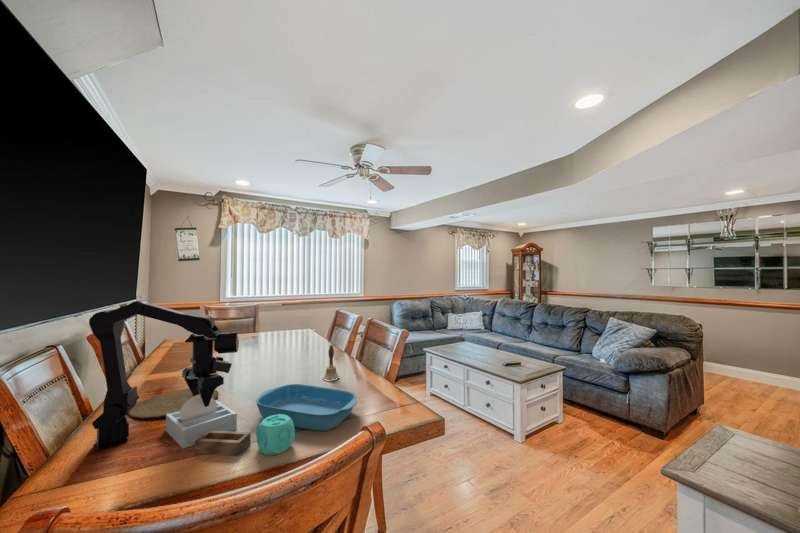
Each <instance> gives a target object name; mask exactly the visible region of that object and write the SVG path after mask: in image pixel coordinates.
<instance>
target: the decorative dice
mask: <svg viewBox="0 0 800 533" xmlns="http://www.w3.org/2000/svg"><path fill="white" fill-rule="evenodd" d="M295 428H296V427H295V426H294V424H293V421H292V419H291V418H290V417H289V416H287V415H283V414H278V415H272V416H269V417H267V418H263V419H262V420H261V422H259V424H258V426H257V428H256V433H255V438H256V443H257V447H258V449H259V451H260V452H261V453H262V454H264V455H266V456H273V455H279V454H282V453H284V452H285V451H286V452H287V450H288V449H289V448H290V447H291V446H292V445H293V442H294V440H295V437H296V429H295Z"/></svg>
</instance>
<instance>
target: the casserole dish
mask: <svg viewBox="0 0 800 533" xmlns="http://www.w3.org/2000/svg"><path fill="white" fill-rule="evenodd" d="M255 402H256V405H257V408H258V411H259V414H260V415H261V417H262V418H263V419H265V418H267V417H269V416H272V415H278V414H283V415H287V416H289V417H290V418H291V419H292V421H293V424H294V427H295V428H301V429H306V430H312V431H320V432H324V431H325V432H326V431H330V430H333V429H334V428H336V427H337V426H338V425H340V424H341V423H342V422H343V421H344V420H345V419H346V418H348V416H349V415H350V414H351V412H352V411H353V408H355V406H357V404H358V401H357V394H356V393H354V392H352V391H349V390H345V389H336V388H330V387H325V386H324V387H323V386H318V385H309V384H302V383H301V384H299V383H292V384H290V383H289V384H283V385H282V386H278V387H277V386H276V387H274V388H272V387H271V388H270V389H267V390H264V391H263V392H261V394H260V395H259V397H258V398H257V399H256V400H255Z"/></svg>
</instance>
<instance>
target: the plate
mask: <svg viewBox="0 0 800 533" xmlns="http://www.w3.org/2000/svg"><path fill="white" fill-rule="evenodd" d="M215 400H216V399H213V398H211V401H210V403H209V406H207V407H205V406H204V404H203V402H202V399H201V396H200V394H199V395H196V396H193V397H191V398H190V399H188V400H187V401H186V402H185V403H184V405H183V406H182V408H181V410H180V414H179V417H180V421H181V422H185V421H188V420H191V419H194V418H197V417H201V416H204V415H207V414H210V413H214V412H216V411H217V404H216V401H215Z"/></svg>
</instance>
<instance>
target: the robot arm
mask: <svg viewBox="0 0 800 533" xmlns="http://www.w3.org/2000/svg"><path fill="white" fill-rule="evenodd" d="M137 315H139V316H141V317H146V318H151V319H153V320H157V321H160V322H161V321H162V322H165V323H169V324H172V325H176V326H179V327H181V328H183V329H184V330H185V331H188V332H189V333H191V334H190V336H189V337H188V338H187V339H185V340H184V343H192V353H191V354H192V355H191V357H190V358H189V362H190V363H191V366H189V367H185V368H184V369H183V370H182V372H181V375H182V378H183V380H184V381H185V383H186V385H187V387H188V389H190V391H191V393H192V395H193V396H196V395H199V394H200V396H201V399H202V402H203V404H204V406H205V407H207V406H209V403H210V401H211V398H212V395H213V392H214V390H216V389H217V388H218V387H221V386H222V385H224V381H225V379H224V376H222V375H220V374H218V373H217V372H220V373H221V372H222V373H225V374H230V371H231V370H230V369H231V368H232V365H233V363H231V362H229V361H226V360H224V358H223V357H222V356H216V357H215V356H214V352H216V353H217V354H233V353H238V352H239V347H240V345H239V344H240V341H239V336H238V331H231V332H222V331H221V330H220V329H219V327H218V326H216V322H215V319H214V317H213V316H211V315H208V314H201V313H200V314H199V313H187V312H182V311H179V310H176V309H172V308H170V307H169V308H168V307H165V306H161V305H158V304H154V303H152V302H148V301H145V300H141V299H140V300H136V301H132V302H130V303H129V304H127V305H126V304H125V305H124V306H121V307H118V308H116V309H107V310H104V311H98V312H95V313H94V314H93V315H92V316H91V317H90V318H89V319H88V324H89V327H90V329H91V332H92V334H93V336H94V337H95V339H97V341H98V343H99V344H100V351H101V357H102V363H103V369H104V370H103V371H104V376H105V381H106V382H105V383H106V389H107V390H106V393H105V395H104V396H105V397H104V400H103V409H102V413H101V414H100V415H99V416H98V417H97V418H95V420H93V421H92V422H91V424H92V426H93V429H94V430H96V440H95V441H94V442H95V446H96V449H97V450H98V451H102V450H104V449H107V448H111V447H115V446H117V445H121V444H123V443H127V442H128V441H129V435H130V423H129V421H128V420H127V417H126V416H129V414H128V413H129V411H130V410H132V409H133V408H134V406H135V405H137V404H138V400H139V399H140V397H139V395H138V386H131V385H130V384H129V382H128V377H127V372H126V365H125V358H124V350H123V345H122V335H123V331H124V329H125V321H126V320H129V319H130V318H134V317H135V316H137Z"/></svg>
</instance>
